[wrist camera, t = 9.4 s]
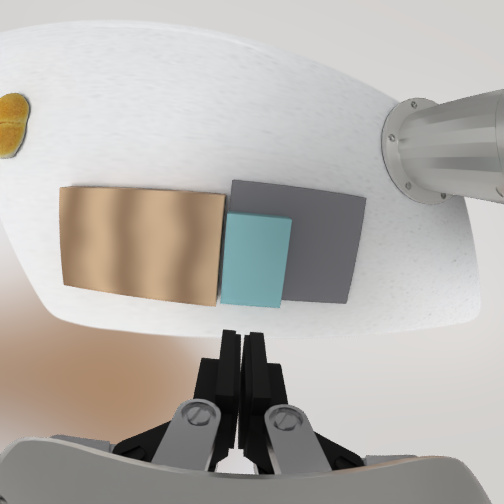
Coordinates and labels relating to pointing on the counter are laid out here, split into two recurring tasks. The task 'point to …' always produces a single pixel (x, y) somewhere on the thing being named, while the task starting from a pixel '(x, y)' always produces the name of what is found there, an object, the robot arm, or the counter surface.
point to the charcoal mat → (310, 236)
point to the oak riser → (142, 242)
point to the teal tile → (255, 259)
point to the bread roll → (12, 123)
